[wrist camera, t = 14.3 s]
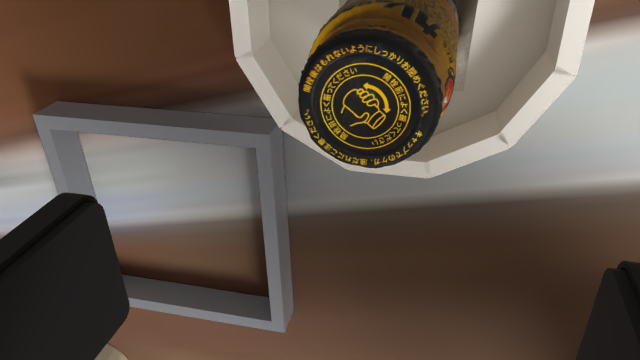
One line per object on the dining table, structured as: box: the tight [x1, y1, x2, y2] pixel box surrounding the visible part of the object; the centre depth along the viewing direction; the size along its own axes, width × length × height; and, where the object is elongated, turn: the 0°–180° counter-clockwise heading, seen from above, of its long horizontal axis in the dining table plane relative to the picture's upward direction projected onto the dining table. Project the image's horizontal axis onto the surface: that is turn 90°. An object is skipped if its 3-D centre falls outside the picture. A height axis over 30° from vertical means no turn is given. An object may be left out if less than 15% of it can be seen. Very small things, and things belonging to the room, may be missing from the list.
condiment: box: [298, 0, 478, 168], centre depth 23 cm, size 7×8×12 cm
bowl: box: [229, 0, 595, 178], centre depth 27 cm, size 17×17×4 cm
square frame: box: [33, 101, 294, 333], centre depth 39 cm, size 17×17×2 cm
